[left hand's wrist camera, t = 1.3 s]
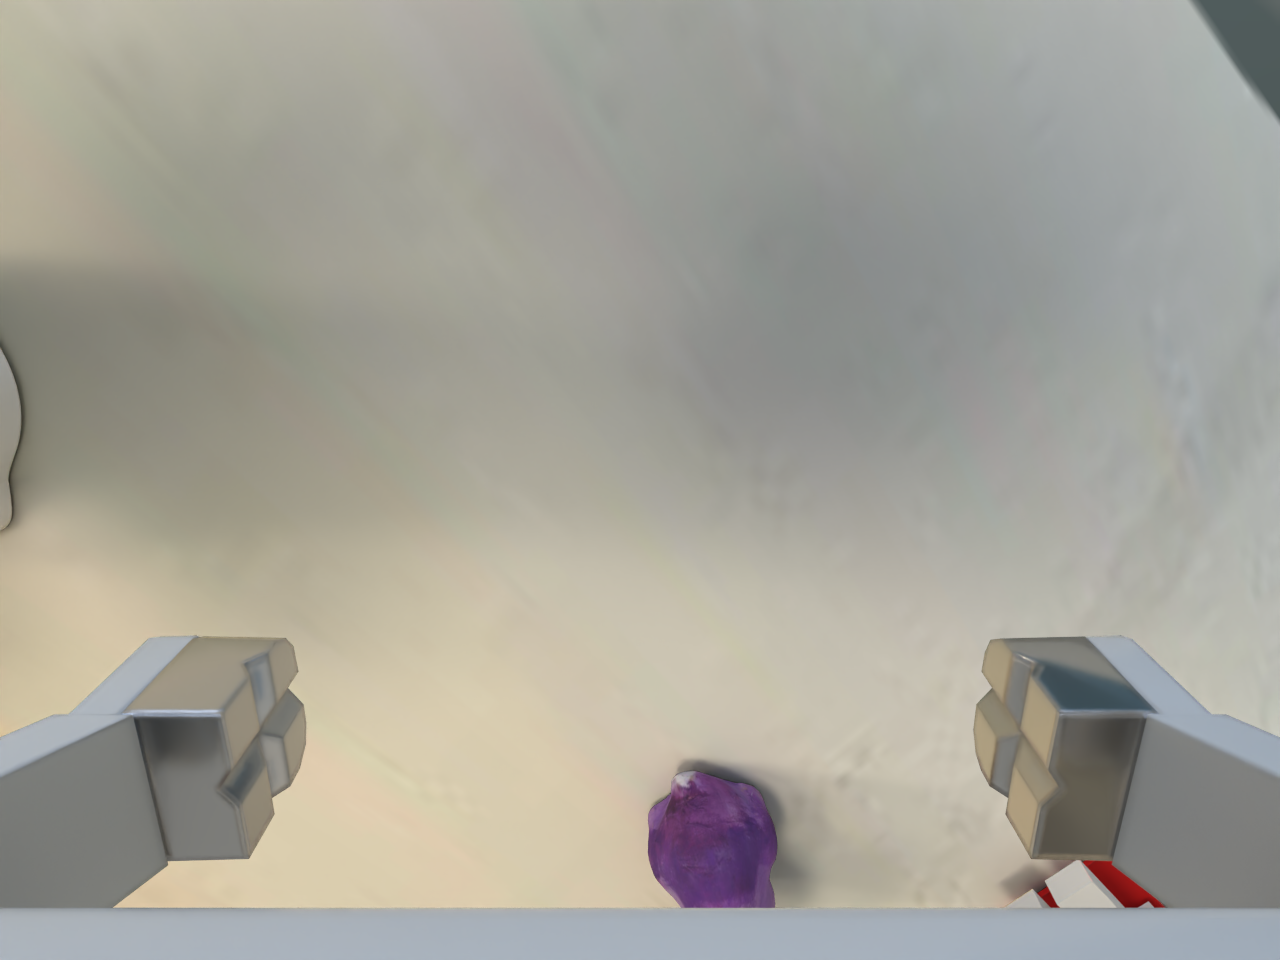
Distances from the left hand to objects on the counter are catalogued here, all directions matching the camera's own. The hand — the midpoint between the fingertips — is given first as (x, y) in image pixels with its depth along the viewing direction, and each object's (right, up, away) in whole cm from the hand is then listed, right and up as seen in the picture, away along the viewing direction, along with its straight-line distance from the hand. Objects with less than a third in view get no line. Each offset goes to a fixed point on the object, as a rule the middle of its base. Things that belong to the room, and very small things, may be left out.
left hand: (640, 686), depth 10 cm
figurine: (+5, -21, +48) cm, 53 cm away
